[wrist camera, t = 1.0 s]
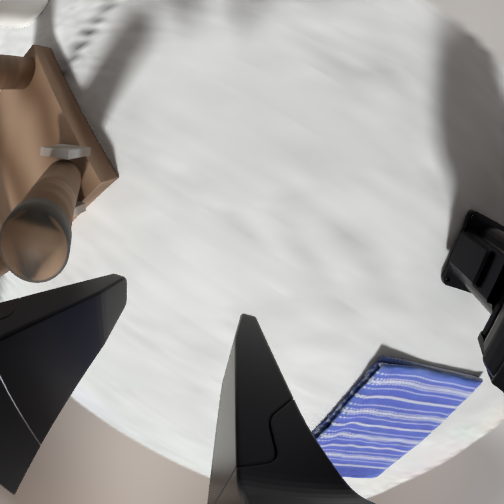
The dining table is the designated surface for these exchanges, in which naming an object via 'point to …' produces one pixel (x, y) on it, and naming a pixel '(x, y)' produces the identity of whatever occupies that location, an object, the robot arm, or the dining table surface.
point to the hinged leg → (42, 225)
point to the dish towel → (390, 414)
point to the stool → (43, 132)
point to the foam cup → (20, 12)
